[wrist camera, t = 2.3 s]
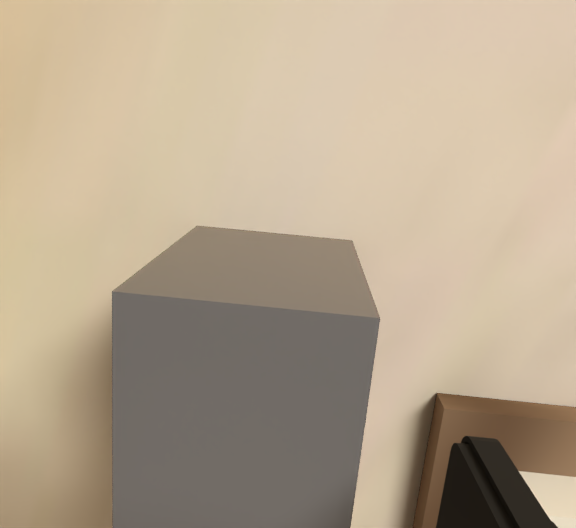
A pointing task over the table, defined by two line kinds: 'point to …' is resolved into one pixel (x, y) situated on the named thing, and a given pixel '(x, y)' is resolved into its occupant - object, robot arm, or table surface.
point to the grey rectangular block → (241, 383)
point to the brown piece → (517, 443)
